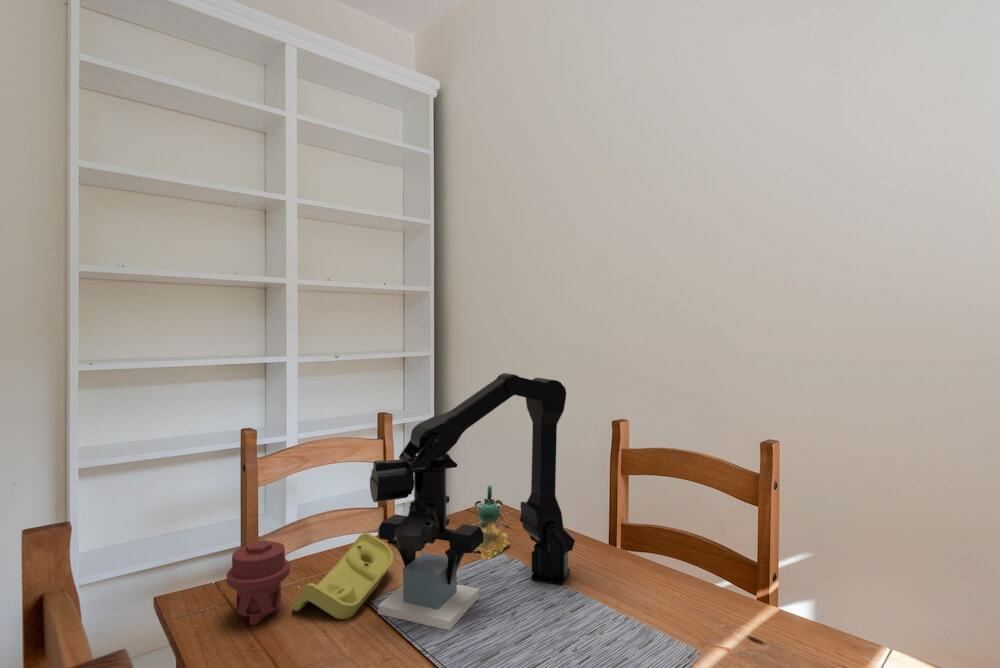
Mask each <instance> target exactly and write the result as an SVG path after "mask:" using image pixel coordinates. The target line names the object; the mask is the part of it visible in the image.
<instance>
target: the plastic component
mask: <svg viewBox="0 0 1000 668" xmlns="http://www.w3.org/2000/svg"><path fill="white" fill-rule="evenodd" d="M393 561H394V553H393V551H392V548H391V547H390V545H389V544H387V543H386V542H384V541H383V540H382V539H379V537H377V536H374V535H373V534H371V533H369V532H363V533H361V534H360V535H358V537H357V539H356V540H355V541H354V542H353V544H352V545H351V546H350V548H349V549H348V550H347V551H346V553H345V554H344V555H343V556H342V557H341V559H340V560H339V561H338V562H337V563H336V564H335V565H334V566H333V568H332V569H331V570H330V571H329V572H328V573H327V574H326V576H324V577H323V578H322V580H320V581H319V583H317V584H315V583H314V582H310V583H308V584H307V585H306V586H304V588H303V589H302V591H301V593H300V594H299V595H298V597H297V599H296V600H295V602H294V604H293V605H292V607H291V609H292V610H294V611H295V612H299V611H301V610H303V608H304V607H306V605H308V604H309V603H312V604H313V605H315V606H317V607H318V608H319V609H321V610H323V611H324V612H325V613H327V614H329V615H331V616H332V617H333V618H335V619H339V620H347V619H350V618H352V617H353V616H355V614H356V613H357V611H358V610H359V609H360V608H361V606H363V604H364V603H365V602H366V600H368V598H369V597H370V596H371V594H372V593H374V591H375V590H376V589H377V587H378V586H379V584H380V582H381V580H382V579H383V578H384V576H385V575H386V574H387V572H388V570H389V569H390V567H391V565H392V564H393Z"/></svg>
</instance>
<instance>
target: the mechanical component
mask: <svg viewBox="0 0 1000 668" xmlns="http://www.w3.org/2000/svg"><path fill="white" fill-rule="evenodd" d="M285 547H286V546H285V545H284V544H283V543H280V542H278V541H270V540H265V539H264V540H263V539H262V540H260V539H259V540H256V541H252V542H250V543H248V544H246V545H244V546H241V547H239V548H237V549H236V550H235V551H234V552H233V553H232V554H231V568H230V569H229V570H228V571H227V573H226V585H227V586H228V587H229V588H231V589H233V590H235V591H236V613H237V614H239V615H240V616H243V617H247V618H248V617H249V625H252V626H255V625H258V624H259V623H260V622H261V621H262V620H264V618H266V617H267V616H269V615H270V614H273V613H275V612H278V611H279V608H280V605H281V602H282V595H281V594H282V587H281V586H282V585H281V583H282V581H283V582H284V580H285V579H286V578H287V577H288V576H289V575H290V573H291V564H290V562H289V560H287V559H286V556H285V555H286V554H285V552H286V551H285V549H286V548H285Z"/></svg>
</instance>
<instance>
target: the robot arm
mask: <svg viewBox="0 0 1000 668" xmlns="http://www.w3.org/2000/svg"><path fill="white" fill-rule="evenodd" d="M514 396H518V397H522V398H525V403H526V409H527V411H528V414H529V417H530V419H531V422H532V434H531V435H532V436H531V437H532V438H531V440H532V441H531V442H532V443H531V448H532V449H531V450H532V451H531V454H532V455H531V483H530V484H531V485H530V486H531V487H530V495H529V497H528V499H527V501H520V517H519V520H518V521H519V522H520V523H521V526H522V528H523V530H524V531H525V532H526V533H527V534H528V535H529V538H530V540H531V541H533V542H535V544H534V545H533V550H532V552H531V572H532V575H531V577H530V578H531V580H533V581H539V582H545V583H549V584H550V583H551V584H556V585H560V586H561V585H564V583H565V581H566V580H567V578H568V577H569V575H570V573H571V569H570V568H569V552H572V551H573V549H574V544H575V541H576V540H575V539H574V538H573V537H572V535H570V534H569V533H568V532H567V531H566V530H565V529H564V521H563V513H562V510H561V507H560V505H559V502H558V500H557V496H556V475H557V437H558V436H557V435H558V434H557V428H558V423H559V421H560V419H561V417H562V416H563V413H564V411H565V405H566V400H567V389H566V386H564V384H563V383H562V382H561V381H558V380H557V379H550V378H543V377H534V378H533V379H529V378H525V377H520V376H519V375H517V374H514V373H508V372H507V373H506V372H505V373H501V374H499V375H498V376H497V377H496V378H495V379H494V380H493V381H491V382H490V383H488V384H486V385H485V386H483V388H481V389H480V390H477V392H475V393H473V394H472V395H471V396H469V398H467V399H465V400H464V401H462V402H461V403H460V404H458V405H457V406H456V407H453V408H452V409H451V410H449V411H447V412H445V413H441V414H438V415H433V416H432V417H429V418H428V419H426V420H424V421H421V422H419V423H418V424H416V425H415V426H414V427H413V428H412V430H411V434H410V440H409V441H408V442H407V444H406V446H405V447H404V449H403V450H402V451H401V453H400V454H399V455H398V459H391V460H374V461H373V463H372V464H373V467H372V469H371V474H370V477H369V490H370V496H371V498H372V501H373V503H379V502H380V503H381V502H386V501H393V500H400V499H407V498H408V497H409V495H412V493H413V497H414V498H413V500H412V501H411V502H410V503H409V506H408V507H409V509H408V513H407V515H401V514H396V513H395V514H394V515H391V516H390V517H388V518H387V519H385V520H382V521H381V522H380V523H379V525H378V528H377V529H378V531H377V533H378V535H377V538H378V539H380V540H384V541H385V540H386V542H387V543H388V544H387V545H391V546H393V547H394V548H396V550H397V551H398V552H399V555H400V558H401V560H402V562H403V565H404V567H405V566H407V565H408V564H409V563H411V562H412V561H413V560H415V559H416V558H417V556H416V555H417V553H416V552H421V551H422V550H423V549H424V548H425V546H426V545H427V544H432V545H433V544H434V543H435V542H436V540H440V541H445V542H449V543H448V544H449V548H448V549H446V550H445V551H444V553H445V555H446V557H448V568H447V581H448V585H451V584H452V582H453V580H454V577H455V575H456V572H457V571H458V569H459V567H460V564H461V561H462V559H463V556H464V554H466V555H467V554H472V553H473V552H475V551H474V550H475V549H476V548H477V547H478V546H479V545H480V544H482V543H483V531H482V530H481V527H480V526H478V525H477V526H476V525H472V524H471V525H469V524H461V525H460V526H459V527H457V528H456V529H450V528H447V526H449V525H450V518H449V517H447V504H448V503H449V502H450V496H449V495H447V469H453V468H454V469H455V468H457V467H458V463H457V462H455V461H454V460H453V459H452V458H451V455H449V454H448V452H449V451H450V450H452V448H453V447H454V446H456V444H457V443H458V441H459V440H460V438H461V437H462V435H463V434H464V433H465V432H466V431H467V429H469V428H470V427H472V426H473V425H474V424H476V423H477V422H479V421H480V420H482V419H483V418H484V417H486V416H487V415H489V414H490V413H492V412H493V411H494V410H495V409H497V408H498V407H499V406H501V405H502V404H503V403H505V402H506V401H508V400H509V399H510V398H512V397H514Z"/></svg>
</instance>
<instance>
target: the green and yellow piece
mask: <svg viewBox="0 0 1000 668" xmlns="http://www.w3.org/2000/svg"><path fill="white" fill-rule="evenodd" d="M492 489H493V486H492V485H489V484H488V486H487V496H486V497H487V498H484V499H483V501H484V502H483V503H482V501H481V500H478V501H476V502H475V503H474V506H475V507H476V510H477V513H476V514H477V515H476V519H475V521H476V523H475V524H476V525H475V526H478V517H479V519H480V520H479V523H480V526H479V527H480V528H481V530H482V531H483V543H482V544H480V545H479V546H478V547H477V548H476V549H475V550H474V551H473V552H480V558H481V559H482V560H492V559H494V557H495V556H498V555H500V554H502V552H503V551H504V548H507V547H509V546H510V545H511V543H510V542H509V540H508V539H509V538H508V534H507V533H506V532H502V530H500V522H502V523H503V528H506V525H505V519H504V518H503V516H502V515H501V513H500V511H501V510H502V505H503V502H502V500H501V499H497V500H496V501H495V499H494V498H492V496H493V495H492V494H493V493H492V492H493V490H492ZM499 518H500V519H499ZM493 523H494V524H493ZM497 523H498V524H497Z"/></svg>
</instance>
